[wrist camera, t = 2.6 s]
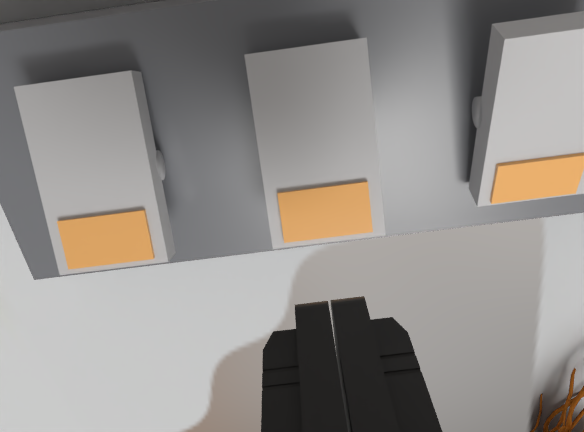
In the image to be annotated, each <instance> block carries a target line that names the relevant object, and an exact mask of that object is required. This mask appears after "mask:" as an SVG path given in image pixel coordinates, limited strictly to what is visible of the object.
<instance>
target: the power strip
mask: <svg viewBox="0 0 584 432" xmlns="http://www.w3.org/2000/svg"><path fill="white" fill-rule="evenodd" d="M581 11H584V0H161V1H154V2H147V3H140V4H133V5H126V6H119V7H112V8H106V9H99V10H92V11H85V12H78V13H71V14H64V15H58V16H51V17H44V18H37V19H30V20H23V21H16V22H10V23H3V24H0V204H1V206H2V208H3V210H4V213H5V215H6V217H7V219H8V222H9V224H10V226H11V228H12V231H13V233H14V235H15V237H16V240H17V242H18V244H19V247H20V249H21V251H22V253H23V256H24V258H25V260H26V262H27V265H28V267H29V269H30V271H31V274H32V276H33V278H34V280H36V279H44V278H53V277H61V276H69V275H77V274H85V273H93V272H101V271H110V270H118V269H126V268H134V267H142V266H150V265H159V264H167V263H175V262H183V261H191V260H199V259H208V258H216V257H224V256H232V255H240V254H248V253H257V252H265V251H273V250H281V249H289V248H297V247H306V246H314V245H322V244H330V243H338V242H346V241H355V240H363V239H371V238H379V237H387V236H395V235H404V234H412V233H420V232H428V231H435V230H444V229H453V228H461V227H468V226H476V225H485V224H493V223H502V222H509V221H518V220H526V219H534V218H542V217H551V216H559V215H567V214H575V213H583V212H584V194H577V195H569V196H561V197H553V198H545V199H537V200H529V201H521V202H513V203H505V204H497V205H488V206H480V207H477V205H476V203H475V201H474V199H473V197H472V195H471V193H470V190H469V181H470V174H471V167H472V160H473V153H474V146H475V139H476V132H477V128H476V127H475V125H474V122H473V118H472V102H473V99H474V98H475V97H479V96H482V90H483V83H484V76H485V69H486V62H487V55H488V48H489V41H490V35H491V28H492V24H495V23H502V22H509V21H516V20H523V19H530V18H538V17H545V16H552V15H559V14H566V13H573V12H581ZM366 37H367V46H368V56H369V67H370V77H371V88H372V98H373V109H374V119H375V130H376V140H377V151H378V161H379V172H380V182H381V193H382V203H383V214H384V225H385V235H384V236H376V237H368V238H360V239H352V240H344V241H336V242H327V243H319V244H311V245H303V246H295V247H287V248H278V249H273V247H272V240H271V233H270V227H269V220H268V213H267V206H266V199H265V192H264V186H263V179H262V172H261V165H260V158H259V151H258V145H257V138H256V131H255V124H254V117H253V110H252V104H251V97H250V90H249V83H248V76H247V69H246V63H245V56H244V55H245V54H252V53H259V52H266V51H274V50H281V49H288V48H295V47H302V46H309V45H316V44H324V43H331V42H338V41H345V40H352V39H359V38H366ZM131 70H132V71H138V72H141V74H142V79H143V84H144V89H145V95H146V100H147V105H148V110H149V116H150V121H151V126H152V131H153V137H154V142H155V147H156V150H159V151H160V152H161V153H162V156H163V159H164V163H165V178H164V180H162V184H163V189H164V194H165V200H166V205H167V210H168V215H169V221H170V226H171V231H172V236H173V242H174V247H175V252H176V253H175V254H174V255H173V257H172V258H171V259H170V261H169V262H164V263H156V264H148V265H140V266H132V267H123V268H115V269H107V270H99V271H91V272H83V273H74V274H66V275H60V274H59V270H58V266H57V262H56V258H55V254H54V250H53V245H52V241H51V237H50V233H49V229H48V225H47V221H46V217H45V213H44V209H43V205H42V201H41V196H40V192H39V188H38V184H37V180H36V176H35V172H34V168H33V164H32V160H31V156H30V152H29V147H28V143H27V139H26V135H25V131H24V127H23V123H22V119H21V115H20V111H19V107H18V103H17V98H16V94H15V90H14V87H16V86H23V85H31V84H38V83H45V82H52V81H59V80H66V79H73V78H81V77H88V76H95V75H102V74H109V73H116V72H123V71H131Z"/></svg>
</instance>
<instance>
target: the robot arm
mask: <svg viewBox="0 0 584 432" xmlns="http://www.w3.org/2000/svg"><path fill="white" fill-rule="evenodd" d="M331 310H332V319H333V327H334V337H335V343H334V337H333V331H332V324H331V318H330V311H329V306H328V301H322V302H314V303H307V304H298V305H295V316H296V329H292V330H283V331H275V332H273V333H272V335H271V336H270V338H269V340H268V342H267V344H266V345H265V347H264V349H263V374H262V377H263V378H262V388H263V391H262V420H261V423H262V425H261V432H442V430H441V427H440V424H439V421H438V418H437V415H436V412H435V409H434V407H433V404H432V401H431V398H430V395H429V392H428V389H427V387H426V383H425V381H424V378H423V375H422V372H421V371H420V366H419V363H418V361H417V358H416V356H415V352H414V349H413V346H412V343H411V341H410V337H409V335H408V332H407V331H406V330H405V329H404V328H403V327H402V326H400V325H399V323H397V322H396V321H395V320H394V319H393V318H392V317H390V318H382V319H374V320H370V316H369V313H368V309H367V306H366V301H365V298H364V296H363V297H354V298H346V299H339V300H331ZM335 346H336V350H335ZM336 355H337V356H336Z"/></svg>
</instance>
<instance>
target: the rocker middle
mask: <svg viewBox="0 0 584 432" xmlns="http://www.w3.org/2000/svg"><path fill="white" fill-rule="evenodd" d="M244 56H245V63H246V69H247V76H248V83H249V90H250V97H251V104H252V110H253V117H254V124H255V131H256V138H257V145H258V151H259V158H260V165H261V172H262V179H263V186H264V192H265V199H266V206H267V213H268V220H269V227H270V233H271V240H272V247H273V249H278V248H287V247H295V246H303V245H311V244H319V243H327V242H336V241H344V240H352V239H360V238H368V237H376V236H384V235H385V225H384V214H383V203H382V193H381V182H380V172H379V161H378V151H377V140H376V130H375V119H374V109H373V98H372V88H371V77H370V67H369V56H368V46H367V37H366V38H359V39H352V40H345V41H338V42H331V43H324V44H316V45H309V46H302V47H295V48H288V49H281V50H274V51H266V52H259V53H252V54H245V55H244Z"/></svg>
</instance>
